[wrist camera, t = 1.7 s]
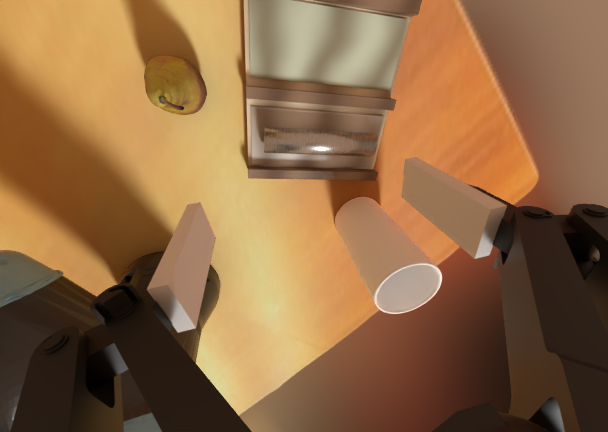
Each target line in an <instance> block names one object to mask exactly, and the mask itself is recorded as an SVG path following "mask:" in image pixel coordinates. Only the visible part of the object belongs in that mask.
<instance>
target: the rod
mask: <svg viewBox="0 0 608 432" xmlns="http://www.w3.org/2000/svg"><path fill="white" fill-rule="evenodd" d="M376 149H377V136H376V134H375V133H364V132H347V131H330V130H314V129H297V128H280V127H264V153H285V154H311V155H337V156H363V157H372V156H373V155H374V154H375V152H376Z"/></svg>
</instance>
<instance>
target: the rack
mask: <svg viewBox="0 0 608 432" xmlns="http://www.w3.org/2000/svg"><path fill="white" fill-rule="evenodd" d="M421 2H422V0H244V28H245V64H246V101H247V137H248V178H262V179H319V180H376V177H377V173H378V172H376V171H375V170H374V166H375V161H376V157H377V153H378V149H379V145H380V141H381V137H382V133H383V129H384V125H385V121H386V117H387V113H388V110H394V107H395V103H396V100H394V99H391V96H392V92H393V88H394V84H395V80H396V76H397V72H398V68H399V64H400V60H401V55H402V51H403V47H404V43H405V39H406V35H407V31H408V27H409V23H410V19H411V17H412V16H415V15H418V13H419V10H420V6H421ZM264 127H280V128H297V129H314V130H330V131H347V132H364V133H375V134H376V136H377V149H376V152H375V154H374V155H373V156H372V157H363V156H337V155H311V154H285V153H264Z"/></svg>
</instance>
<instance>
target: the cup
mask: <svg viewBox="0 0 608 432" xmlns="http://www.w3.org/2000/svg"><path fill="white" fill-rule="evenodd" d="M335 227H336V229H337V231H338V233H339V235H340V237H341V239H342V241H343V243H344V245H345V247H346V249H347V251H348V252H349V254H350V256H351V258H352V260H353V262H354V264H355V266H356V268H357V270H358V272H359V274H360V275H361V277H362V279H363V281H364V283H365V285H366V287H367V289H368V291H369V293H370V295H371V297H372V298H373V300H374V302H375V304H376V305H377V307H378V308H379V309H380V310H381V311H383V312H386V313H391V314H398V313H404V312H408V311H411V310H414V309H416V308H418V307H420V306H421V305H423V304H425V303H426V302H427V301H429V300H430V299H431V298H432V297H433V296H434V295H435V294H436V292H437V291H438V289H439V287H440V285H441V282H442V274H441V272H440V270H439V269H438V267H437V266H436V265H435V264H434V263H433V262H432V261H431V260H430V259H429V257H428V256H427V255H426V254H425V253H424V252H423V251H422V250H421V249H420V248H419V247H418V246H417V245H416V244H415V242H414V241H413V240H412V239H411V238H410V237H409V236H408V235H407V234H406V233H405V232H404V231H403V230H402V229H401V227H400V226H399V225H398V224H397V223H396V222H395V221H394V220H393V219H392V218H391V217H390V216H389V215H388V214H387V212H386V211H385V210H384V209H383V208H382V207H381V206H380V205H379V204H378V203H377V202H376V201H375V200H373V199H372V198H369V197H357V198H354V199H351V200H349V201H348V202H346V203H345V204H344V205H343V206H342V207H341V208H340V209H339V210H338V212H337V214H336V217H335Z"/></svg>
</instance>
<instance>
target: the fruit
mask: <svg viewBox="0 0 608 432" xmlns="http://www.w3.org/2000/svg"><path fill="white" fill-rule="evenodd" d="M144 79H145V88H146V93H147V95H148V98H149V99H150V101H151V102H152V103H153V104H154V105H155V106H158V107H160V108H162V109H163V110H165V111H168V112H171V113H174V114H180V115H188V114H193V113H196V112H197V111H199V110H200V109H201V107H202V106H203V104H204V102H205V99H206V95H207V91H206V86H205V83H204V81H203V78H202V76H201V75H200V73H199V72H198V70H197V69H196V68H195V67H194V66H193V65H192V64H191V63H190V62H189V61H187V60H185V59H182V58H178V57H173V56H167V55H160V56H155V57H153V58H151V59H150V60H149V61H148V63H147V65H146V68H145V74H144Z"/></svg>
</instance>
